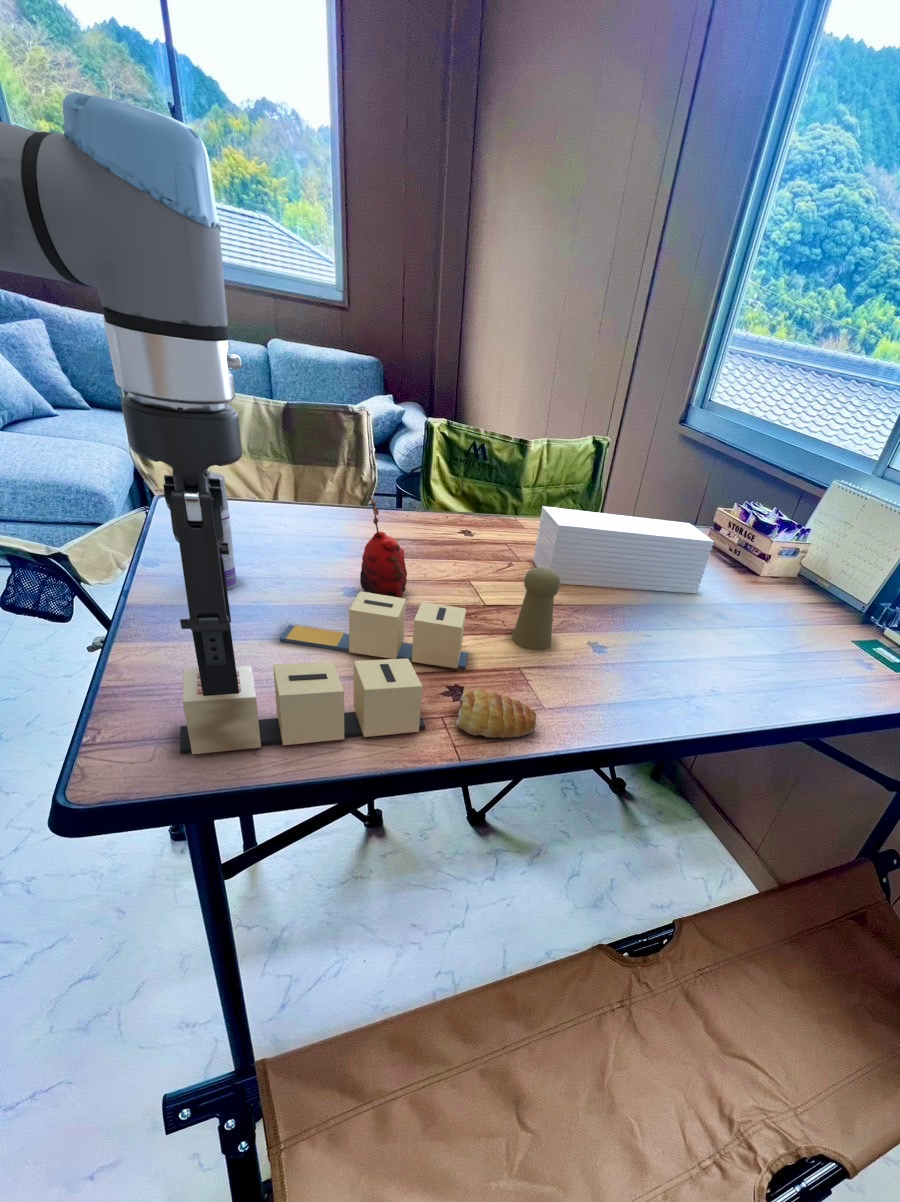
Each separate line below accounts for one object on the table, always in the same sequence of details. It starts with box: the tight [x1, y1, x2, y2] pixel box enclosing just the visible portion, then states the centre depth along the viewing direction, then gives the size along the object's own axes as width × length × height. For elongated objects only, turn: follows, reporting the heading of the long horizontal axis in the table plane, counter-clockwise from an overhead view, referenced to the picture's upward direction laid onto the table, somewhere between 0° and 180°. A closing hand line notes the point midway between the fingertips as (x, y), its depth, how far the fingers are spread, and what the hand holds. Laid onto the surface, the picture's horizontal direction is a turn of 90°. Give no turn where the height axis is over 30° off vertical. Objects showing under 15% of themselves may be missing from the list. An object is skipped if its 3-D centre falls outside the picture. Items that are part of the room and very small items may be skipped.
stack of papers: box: [532, 505, 715, 594], centre depth 121 cm, size 32×11×11 cm, turn 106°
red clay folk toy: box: [359, 494, 408, 598], centre depth 94 cm, size 8×7×15 cm
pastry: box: [455, 688, 537, 739], centre depth 73 cm, size 9×7×4 cm
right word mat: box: [279, 590, 469, 670], centre depth 81 cm, size 24×6×7 cm, turn 91°
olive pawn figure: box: [511, 567, 561, 651], centre depth 91 cm, size 6×6×11 cm
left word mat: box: [179, 658, 426, 754], centre depth 65 cm, size 24×6×7 cm, turn 114°
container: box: [209, 471, 237, 591], centre depth 85 cm, size 5×5×15 cm
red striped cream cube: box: [182, 665, 262, 755], centre depth 61 cm, size 6×6×6 cm
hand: (218, 654), depth 58 cm, fingers open, 13 cm apart
